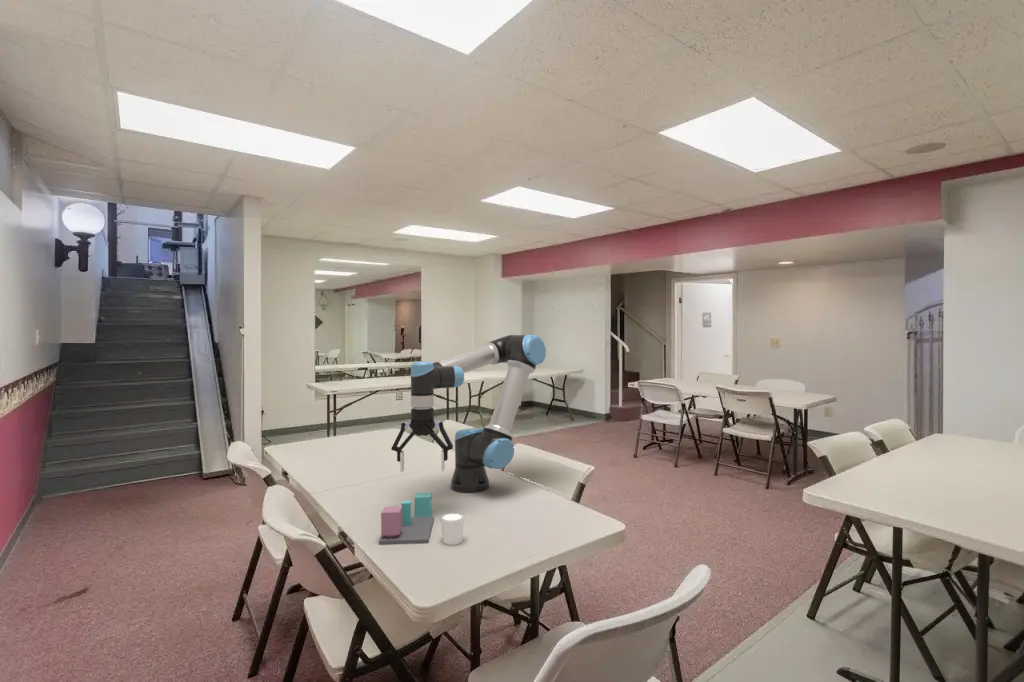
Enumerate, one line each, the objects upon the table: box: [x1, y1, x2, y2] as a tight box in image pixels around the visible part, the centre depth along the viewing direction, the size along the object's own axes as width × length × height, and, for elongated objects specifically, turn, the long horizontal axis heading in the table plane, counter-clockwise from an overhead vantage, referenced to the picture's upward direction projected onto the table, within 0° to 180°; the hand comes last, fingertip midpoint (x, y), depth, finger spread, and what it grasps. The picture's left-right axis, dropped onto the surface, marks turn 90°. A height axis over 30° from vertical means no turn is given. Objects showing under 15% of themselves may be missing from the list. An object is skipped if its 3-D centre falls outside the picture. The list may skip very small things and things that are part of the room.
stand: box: [378, 500, 435, 546], centre depth 147 cm, size 14×18×9 cm
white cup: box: [440, 512, 465, 546], centre depth 140 cm, size 7×7×7 cm
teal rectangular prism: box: [414, 491, 433, 517], centre depth 161 cm, size 5×5×7 cm
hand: (422, 470), depth 161 cm, fingers open, 13 cm apart
